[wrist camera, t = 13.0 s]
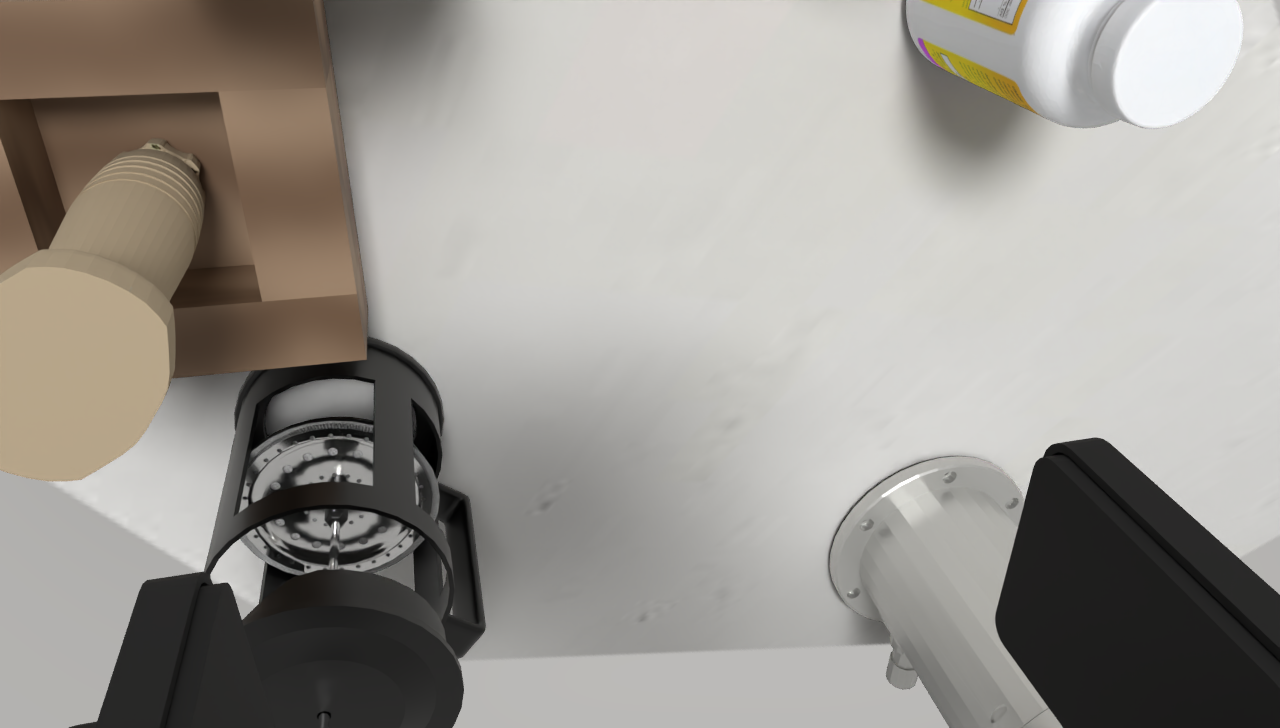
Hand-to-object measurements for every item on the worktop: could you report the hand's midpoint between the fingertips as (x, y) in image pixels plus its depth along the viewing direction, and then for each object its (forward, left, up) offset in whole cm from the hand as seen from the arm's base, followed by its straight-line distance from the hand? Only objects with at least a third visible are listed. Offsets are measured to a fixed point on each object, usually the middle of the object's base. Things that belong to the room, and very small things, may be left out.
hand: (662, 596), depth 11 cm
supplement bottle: (+1, -22, -32) cm, 38 cm away
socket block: (-5, +12, -31) cm, 34 cm away
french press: (-18, +7, -32) cm, 37 cm away
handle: (-5, +12, -30) cm, 33 cm away
